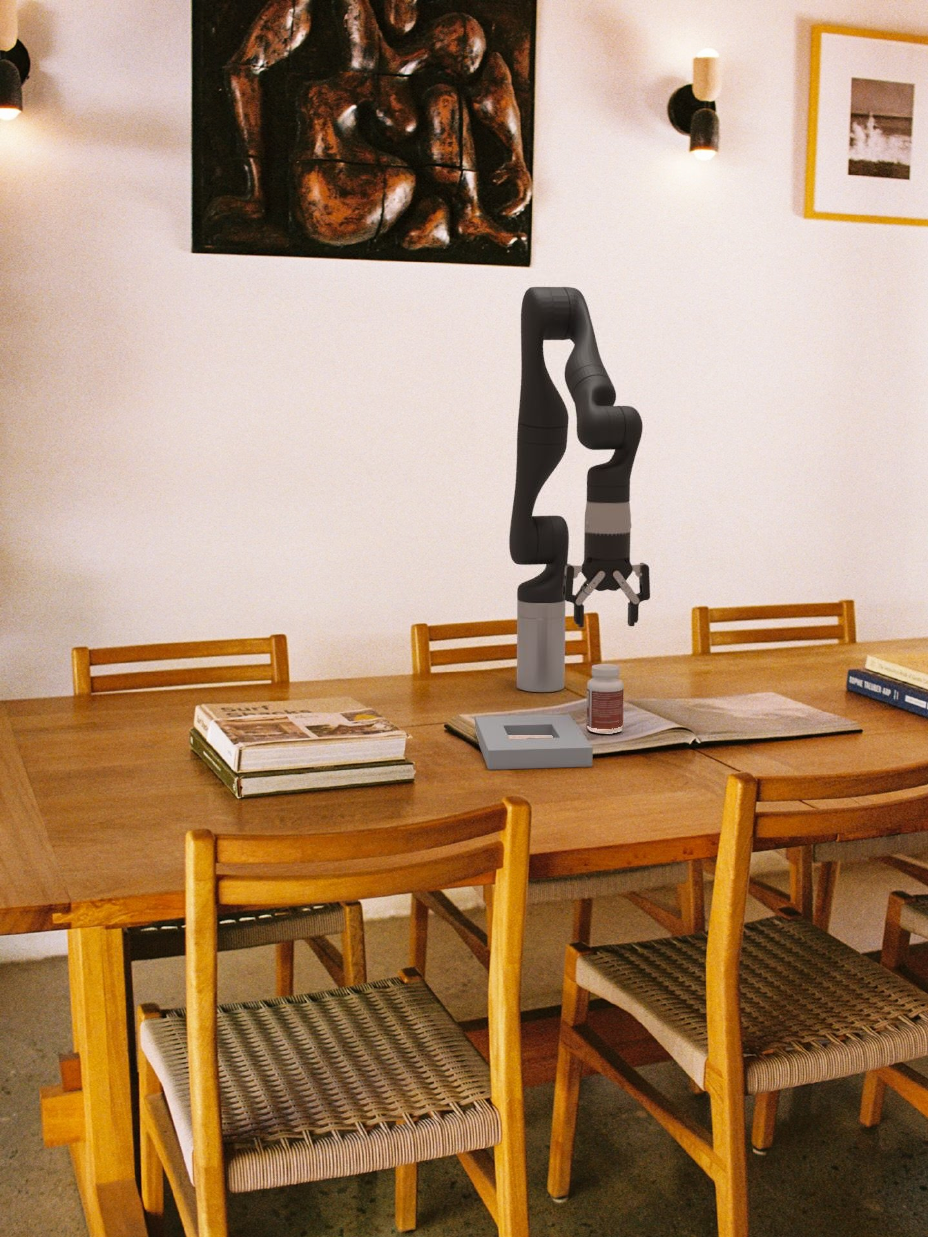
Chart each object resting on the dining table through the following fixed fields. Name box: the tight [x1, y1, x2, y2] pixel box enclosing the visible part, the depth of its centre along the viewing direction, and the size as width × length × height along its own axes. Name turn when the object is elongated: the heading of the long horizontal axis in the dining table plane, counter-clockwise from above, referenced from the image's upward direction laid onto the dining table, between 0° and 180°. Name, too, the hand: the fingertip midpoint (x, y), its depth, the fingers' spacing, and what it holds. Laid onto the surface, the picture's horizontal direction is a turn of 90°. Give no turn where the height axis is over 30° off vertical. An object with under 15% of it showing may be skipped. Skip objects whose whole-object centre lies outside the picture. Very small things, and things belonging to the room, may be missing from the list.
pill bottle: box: [586, 663, 625, 729], centre depth 211 cm, size 6×6×11 cm
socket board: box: [474, 713, 594, 770], centre depth 200 cm, size 20×16×3 cm
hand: (605, 626), depth 208 cm, fingers open, 8 cm apart
